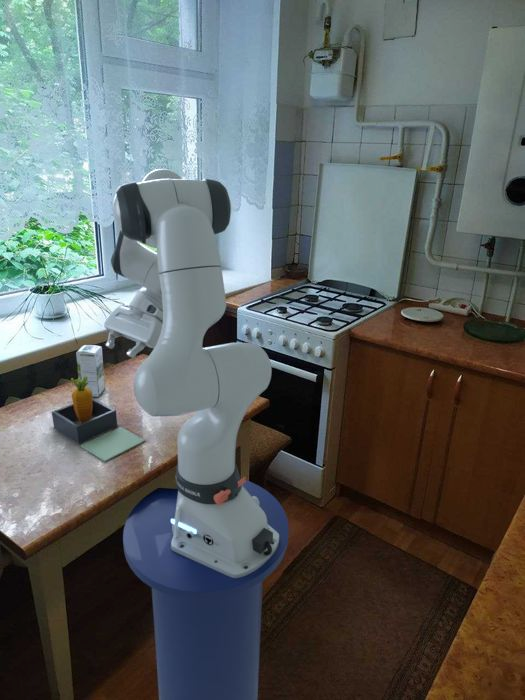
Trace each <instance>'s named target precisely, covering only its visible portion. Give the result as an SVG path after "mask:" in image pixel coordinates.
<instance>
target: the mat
mask: <svg viewBox="0 0 525 700" xmlns="http://www.w3.org/2000/svg"><path fill="white" fill-rule="evenodd" d="M144 442H146V441H145V439H144V438H142V437H140V436H139V435H137V434H135V433H133V432H131V431H129V430H128V429H127V428H125V427H122V426H119V427H116V428H114V429H111V430H109V431H107V433H106V432H105V433H103V434H101V435H99V436H96V437H94V438H92V439H90V440H88V441H86V442H84V443H83V444H82V443H81V445H80V448H82V449H84V450H86V451H87V452H88V453H90V454H92V455H93V456H95V457H96V458H98V459H100V460H101V461H103V462H104V463H105V462H107V461H110V460H112V459H113V458H115V457H118V456H120V455H121V454H123V453H125V452H127V451H129V450H132V449H133V448H135V447H136V446H139V445H141V444H143V443H144Z"/></svg>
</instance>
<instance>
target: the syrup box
mask: <svg viewBox="0 0 525 700" xmlns="http://www.w3.org/2000/svg"><path fill="white" fill-rule="evenodd" d="M75 357H76V367H77V375H78V377H81V380H82V381H83V378H84V376H87V377H88V378H87V381H86V382H88V384H87V385H86V387H87V388H89V389H90V390H91V391H92V398H94V397H97V398H99V397H100V396H101V394H102V393H103V392H104V390H105V389H106V383H105V371H104V360H103V359H104V358H103V347H102V346H100V345H93V344H84V345H82V346H81V347H80V348H79V349H78V350H77V351H76V353H75ZM78 377H77V378H78Z"/></svg>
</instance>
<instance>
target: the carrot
mask: <svg viewBox="0 0 525 700" xmlns="http://www.w3.org/2000/svg"><path fill="white" fill-rule="evenodd" d="M87 378H88V377H87V376H84V378H83V381H82V380H81V377H77V380H76V379H74V378H73V377H72V378H70V381H71V382H72V383H73V384H74V386H75V387H76V388H75V389H74V390H73V391H72V393H71V399H72V404H73V405H74V410H75V413H76V415H77V418H78V420H77V421H78V422H79V424H81V423H84V422H86V421H88V420H90V419H92V416H93V415H92V408H93V399H92V398H93V397H92V391H91V390H90V389H89V388H87V387H86V385H87V384H88V382H86V381H87Z"/></svg>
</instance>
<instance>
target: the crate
mask: <svg viewBox="0 0 525 700" xmlns="http://www.w3.org/2000/svg"><path fill="white" fill-rule="evenodd" d="M92 399H93V408H92V416H94V417H93V418H91V419H90V420H88V421H86V422H84V423H79V424H77V423H75V422H76V421H79V420H78V418H77V415H76V413H75V410H74V405H73V403H71V404H69V405H66V406H63V407H60V408H58V409H56V410H53V411H51V416H52V424H53V429H54V430H56V432H57V431H58V433H60V434H62V435H64V436H65V437H67V438H68V439H69V440H72V441H73V442H75V443H76V444H78V445H80V444H81V445H82V443H83V444H84V443H86V442H88V441H90V440H92V439H95V438H97V437H99V436H101V435H103V434H105V433H106V432H107V433H108V432H110V431H112V430H114V429H116V428H118V419H117V410H116V409H115V408H112V407H111V406H109V405H107V404H105V403H103V402H101V401H100V400H98V399H96V398H94V397H92Z"/></svg>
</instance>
